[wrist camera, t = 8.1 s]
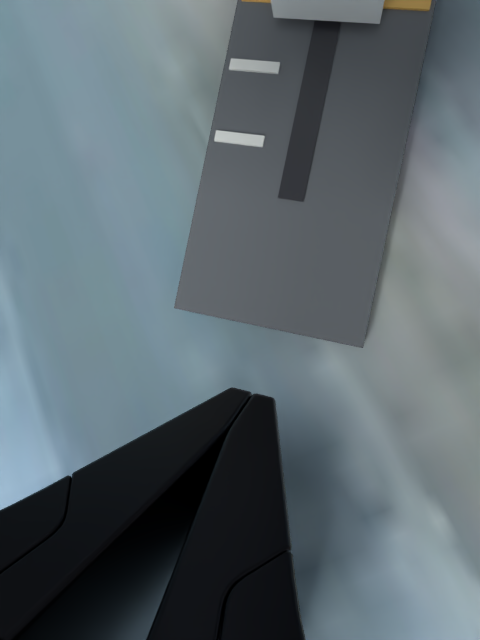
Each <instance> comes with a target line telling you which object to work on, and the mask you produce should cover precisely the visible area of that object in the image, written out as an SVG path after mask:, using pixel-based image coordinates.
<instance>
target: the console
mask: <svg viewBox="0 0 480 640" xmlns="http://www.w3.org/2000/svg"><path fill="white" fill-rule="evenodd" d="M435 3H436V0H385V1H384V6H383V11H382V16H381V20H380V24H373V23H356V22H339V21H322V20H305V19H288V18H274V17H273V11H272V6H271V0H238V2H237V7H236V12H235V16H234V21H233V26H232V31H231V36H230V41H229V45H228V50H227V55H226V60H225V65H224V69H223V74H222V79H221V84H220V89H219V94H218V98H217V103H216V108H215V113H214V118H213V123H212V127H211V132H210V137H209V142H208V147H207V151H206V156H205V161H204V166H203V171H202V176H201V180H200V185H199V190H198V195H197V200H196V205H195V209H194V214H193V219H192V224H191V229H190V233H189V238H188V243H187V248H186V253H185V258H184V262H183V267H182V272H181V277H180V282H179V287H178V291H177V296H176V301H175V306H174V308H176V309H180V310H185V311H190V312H195V313H199V314H204V315H209V316H214V317H218V318H223V319H228V320H233V321H237V322H242V323H247V324H252V325H256V326H261V327H266V328H271V329H275V330H280V331H285V332H290V333H294V334H299V335H304V336H308V337H313V338H318V339H323V340H327V341H332V342H337V343H342V344H346V345H351V346H356V347H361V348H363V346H364V341H365V336H366V331H367V327H368V322H369V317H370V312H371V308H372V303H373V298H374V293H375V289H376V284H377V279H378V274H379V270H380V265H381V260H382V255H383V251H384V246H385V241H386V236H387V232H388V227H389V222H390V217H391V213H392V208H393V203H394V198H395V193H396V189H397V184H398V179H399V174H400V170H401V165H402V160H403V155H404V151H405V146H406V141H407V136H408V132H409V127H410V122H411V117H412V113H413V108H414V103H415V98H416V94H417V89H418V84H419V79H420V75H421V70H422V65H423V60H424V56H425V51H426V46H427V41H428V37H429V32H430V27H431V22H432V18H433V13H434V8H435Z"/></svg>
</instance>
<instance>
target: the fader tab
mask: <svg viewBox="0 0 480 640" xmlns="http://www.w3.org/2000/svg"><path fill="white" fill-rule="evenodd" d="M384 1H385V0H271V6H272V11H273V17H274V18H288V19H305V20H322V21H339V22H356V23H373V24H380V20H381V16H382V11H383V6H384Z"/></svg>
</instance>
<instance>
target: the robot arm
mask: <svg viewBox="0 0 480 640" xmlns="http://www.w3.org/2000/svg"><path fill="white" fill-rule="evenodd" d="M291 550H292V548H291V538H290V529H289V520H288V511H287V502H286V493H285V484H284V475H283V466H282V457H281V448H280V439H279V430H278V421H277V412H276V403H275V399H274V398H272V397H268V396H264V395H260V394H253V395H252V394H251V392H248V391H245V390H241V389H237V388H229V389H227V390H225V391H224V392H222V393H220V394H218V395H216V396H214V397H212V398H211V399H209V400H207V401H205V402H203V403H201V404H200V405H198V406H196V407H194V408H192V409H190V410H188V411H187V412H185V413H183V414H181V415H179V416H177V417H175V418H174V419H172V420H170V421H168V422H166V423H164V424H162V425H161V426H159V427H157V428H155V429H153V430H151V431H150V432H148V433H146V434H144V435H142V436H140V437H138V438H137V439H135V440H133V441H131V442H129V443H127V444H125V445H124V446H122V447H120V448H118V449H116V450H114V451H112V452H111V453H109V454H107V455H105V456H103V457H101V458H100V459H98V460H96V461H94V462H92V463H90V464H88V465H87V466H85V467H83V468H81V469H79V470H77V471H75V472H74V473H73V474H72V478H71V476H66V477H64V478H62V479H60V480H58V481H57V482H55V483H53V484H51V485H49V486H47V487H45V488H44V489H42V490H40V491H38V492H36V493H34V494H32V495H30V496H28V497H26V498H24V499H22V500H20V501H18V502H16V503H14V504H12V505H10V506H8V507H6V508H4V509H2V510H0V640H305V635H304V630H303V626H302V621H301V615H300V608H299V601H298V594H297V588H296V581H295V573H294V563H293V555H292V553H291Z"/></svg>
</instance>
